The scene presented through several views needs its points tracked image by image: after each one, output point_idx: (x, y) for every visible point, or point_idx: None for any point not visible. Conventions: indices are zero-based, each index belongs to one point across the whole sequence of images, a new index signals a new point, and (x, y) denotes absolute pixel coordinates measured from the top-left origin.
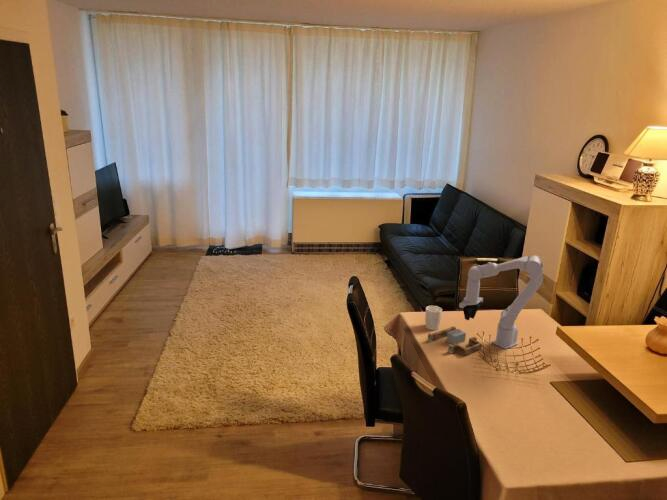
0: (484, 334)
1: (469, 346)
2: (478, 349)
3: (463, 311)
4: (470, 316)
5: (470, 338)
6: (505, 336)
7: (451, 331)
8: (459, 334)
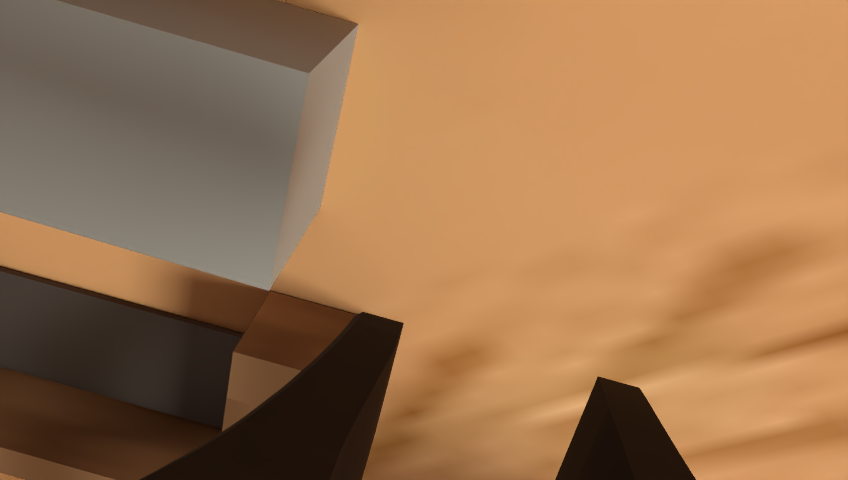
0: (816, 358)
1: (206, 333)
2: None
3: (208, 441)
4: (586, 427)
5: (248, 367)
6: None
7: (68, 26)
8: (101, 222)
